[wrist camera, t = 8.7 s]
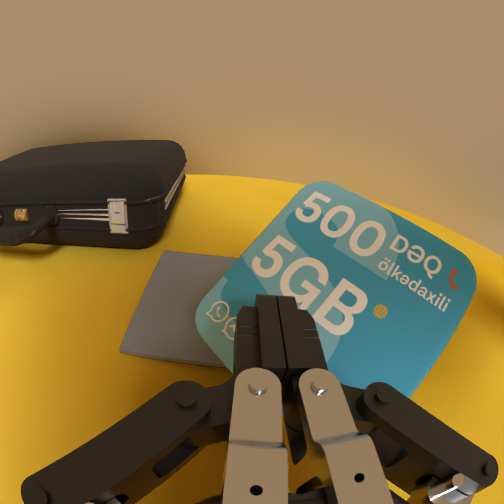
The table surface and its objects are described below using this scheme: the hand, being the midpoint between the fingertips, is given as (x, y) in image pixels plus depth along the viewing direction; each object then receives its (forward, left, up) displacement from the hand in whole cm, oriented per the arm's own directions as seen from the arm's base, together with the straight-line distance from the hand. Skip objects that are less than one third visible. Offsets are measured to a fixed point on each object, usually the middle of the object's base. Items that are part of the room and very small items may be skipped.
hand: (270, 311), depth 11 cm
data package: (0, -1, -6) cm, 6 cm away
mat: (+10, 0, -8) cm, 13 cm away
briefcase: (+24, +28, -9) cm, 38 cm away
